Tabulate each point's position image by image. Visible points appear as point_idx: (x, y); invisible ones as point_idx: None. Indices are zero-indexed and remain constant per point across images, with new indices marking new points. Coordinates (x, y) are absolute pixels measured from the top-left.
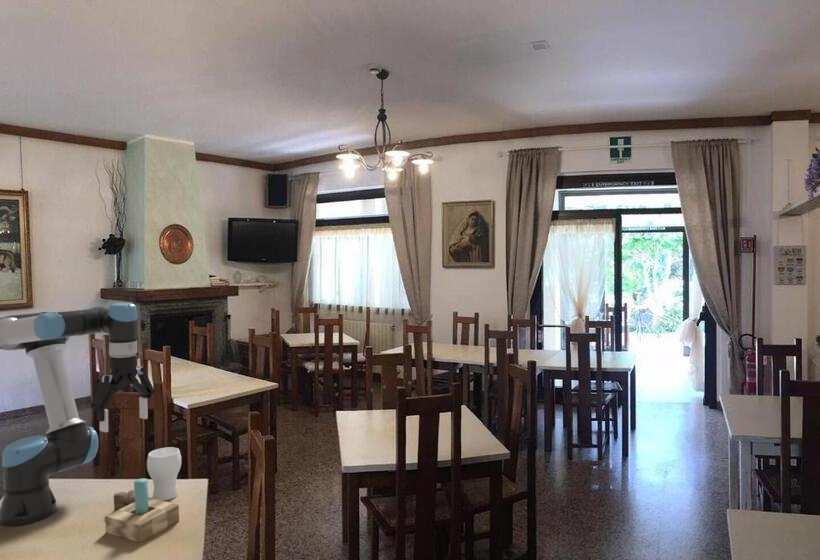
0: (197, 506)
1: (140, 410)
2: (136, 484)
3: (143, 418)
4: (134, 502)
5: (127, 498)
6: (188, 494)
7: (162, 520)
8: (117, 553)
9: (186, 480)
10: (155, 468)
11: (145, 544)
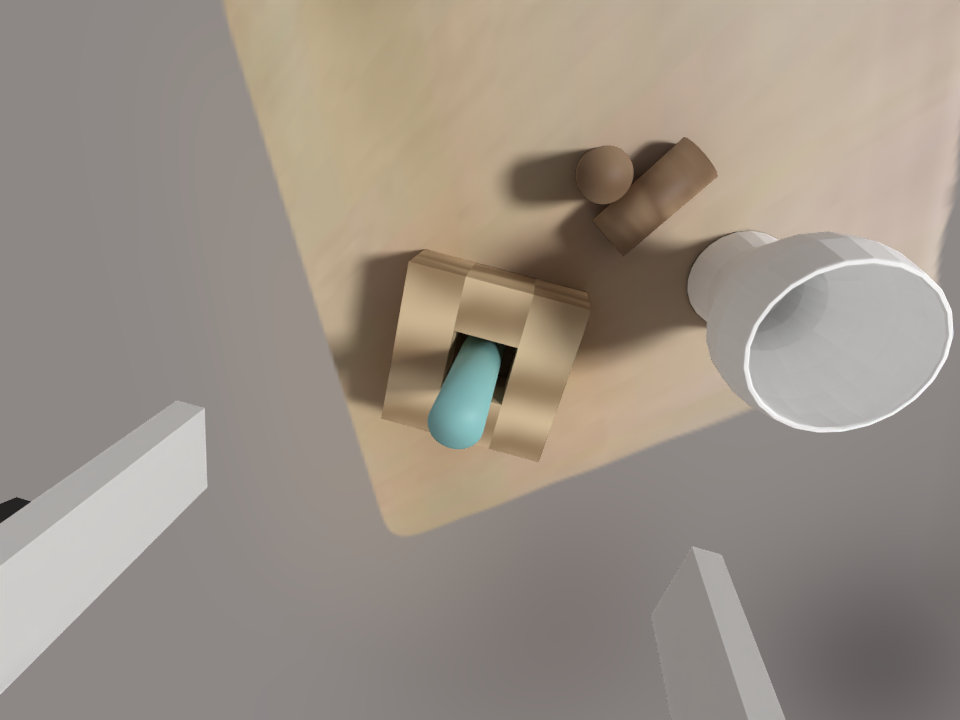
0: (646, 439)
1: (713, 650)
2: (429, 418)
3: (665, 594)
4: (534, 297)
5: (645, 177)
6: None
7: None
8: (335, 366)
9: None
10: (712, 332)
11: None
